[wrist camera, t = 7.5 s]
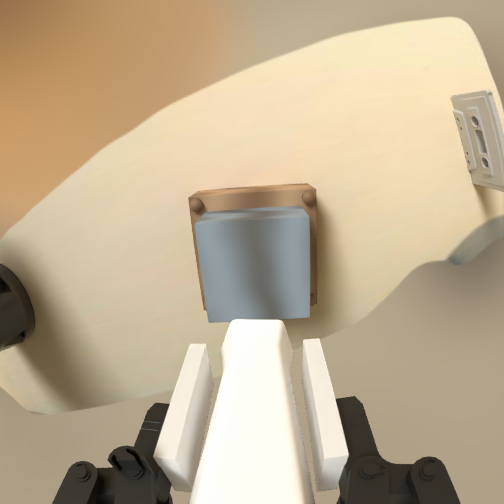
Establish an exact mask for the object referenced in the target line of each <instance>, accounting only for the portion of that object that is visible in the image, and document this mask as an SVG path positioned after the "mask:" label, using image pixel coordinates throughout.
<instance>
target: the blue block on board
mask: <svg viewBox="0 0 504 504" xmlns="http://www.w3.org/2000/svg"><path fill="white" fill-rule="evenodd" d="M188 199H189V207H190V216H191V224H192V232H193V239H194V247H195V254H196V261H197V268H198V275H199V282H200V288H201V294H202V301H203V307H204V310H206V311H207V315H208V321H209V323H214V322H231V321H232V320H235V319H250V320H280V319H295V318H308V317H310V306H313V305H314V304H317V203H316V189H315V188H314V187H312V186H311V185H309V184H288V185H269V186H254V187H240V188H227V189H216V190H205V191H198V192H197V193H195V194H193V195H192V196H190V197H189V198H188Z"/></svg>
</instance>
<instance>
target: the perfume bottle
mask: <svg viewBox="0 0 504 504" xmlns="http://www.w3.org/2000/svg"><path fill="white" fill-rule="evenodd" d="M220 358H221V362H222V367H223V371H224V372H223V376H222V380H221V383H220V387H219V391H218V395H217V399H216V402H215V406H214V410H213V414H212V418H211V421H210V425H209V429H208V433H207V436H206V440H205V444H204V448H203V451H202V455H201V459H200V463H199V466H198V470H197V474H196V478H195V481H194V485H193V489H192V493H191V497H190V500H189V504H315V501H314V495H313V491H312V485H311V480H310V474H309V469H308V464H307V459H306V454H305V449H304V443H303V438H302V433H301V429H300V423H299V418H298V413H297V408H296V403H295V398H294V393H293V389H292V384H291V379H290V374H289V372H290V368H291V364H292V361H293V358H294V352H293V349H292V346H291V343H290V340H289V337H288V334H287V331H286V328H285V325H284V323H283V321H281V320H250V319H235V320H232V321H231V323H230V325H229V328H228V331H227V334H226V337H225V340H224V342H223V345H222V348H221V351H220Z"/></svg>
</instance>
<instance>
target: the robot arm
mask: <svg viewBox="0 0 504 504" xmlns="http://www.w3.org/2000/svg"><path fill="white" fill-rule="evenodd" d="M34 326H35V320H34V313H33V309H32V305H31V303H30V300H29V298H28V295H27V293H26V291H25V290H24V288H23V286H22V285H21V283H20V282H19V280H18V279H17V277H16V276H15V275H14V274H13V273H12V272H11V271H10V270H9V269H8V268H7V267H5V266H4V265H2V264H0V351H2V350H5V349H8V348H10V347H13V346H16V345H18V344H21V343H23V342H24V341H25V340H26V339H27V338H28V337H29V336H30V335H31V334H32V333H33V330H34ZM302 384H303V391H304V398H305V405H306V411H307V419H308V426H309V433H310V441H311V448H312V456H313V464H314V472H315V480H316V489H317V491H325V490H332V489H337V487H338V485H339V488H340V496H339V499H338V501H337V504H460V501H459V499H458V496H457V494H456V491H455V489H454V486H453V484H452V482H451V479H450V477H449V475H448V472H447V470H446V468H445V466H444V464H443V463H442V462H441V460H439V459H437V458H435V457H423V458H421V459H419V460H417V461H416V462H415V463H414V464H393V463H390V462H387V461H386V460H384V459H383V458H382V457H381V456H380V455H379V453H378V451H377V447H376V444H375V441H374V437H373V434H372V431H371V428H370V425H369V423H368V419H367V416H366V413H365V410H364V407H363V404H362V403H361V402H360V401H359V400H358V399H357V398H356V397H355V396H353V397H346V398H339V399H335V396H334V392H333V388H332V384H331V381H330V377H329V373H328V369H327V365H326V361H325V358H324V354H323V351H322V347H321V343H320V339H319V338H317V339H305V340H303V366H302ZM213 387H214V383H213V378H212V373H211V369H210V364H209V359H208V354H207V349H206V344H190V346H189V349H188V352H187V354H186V357H185V360H184V363H183V366H182V369H181V372H180V375H179V378H178V381H177V384H176V387H175V390H174V393H173V396H172V399H171V403H170V404H164V403H155V404H154V405H153V406H152V407H151V408H150V409H149V410H148V411H147V414H146V416H145V419H144V422H143V424H142V427H141V430H140V432H139V435H138V437H137V440H136V442H135V445H134V447H131V446H122V447H118V448H116V449H114V450H113V451H112V452H111V453H110V455H109V458H108V461H109V462H110V464H111V465H112V466H113V467H112V468H96V467H95V466H94V465H93V464H91V463H89V462H86V461H80V462H76V463H75V464H73V465H72V466H71V467H70V468H69V470H68V472H67V474H66V476H65V478H64V480H63V482H62V484H61V486H60V488H59V490H58V492H57V495H56V497H55V499H54V501H53V503H52V504H173V502H172V497H171V495H170V488H171V485H172V487H173V488H174V490H177V491H185V492H192V489H193V485H194V481H195V478H196V474H197V470H198V466H199V462H200V456H201V451H202V445H203V440H204V434H205V429H206V424H207V418H208V413H209V407H210V402H211V397H212V392H213Z"/></svg>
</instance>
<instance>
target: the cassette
mask: <svg viewBox="0 0 504 504" xmlns="http://www.w3.org/2000/svg"><path fill="white" fill-rule="evenodd" d="M451 101H452V104H453V107H454V111H453V113H454V116H455V119H456V123H457V126H458V130H459V133H460V137H461V141H462V145H463V149H464V153H465V157H466V161H467V166H468V171H470V172H471V177H472V182H473V183H474V184H476V185H480V186H484V187H488V188H492V189H496V190H499V191H503V192H504V135H503V131H502V126H501V122H500V119H499V115H498V111H497V108H496V104H495V101H494V98H493V95H492V92H491V91H490V90H485V91H479V92H473V93H467V94H459V95H454V96H452V97H451Z"/></svg>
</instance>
